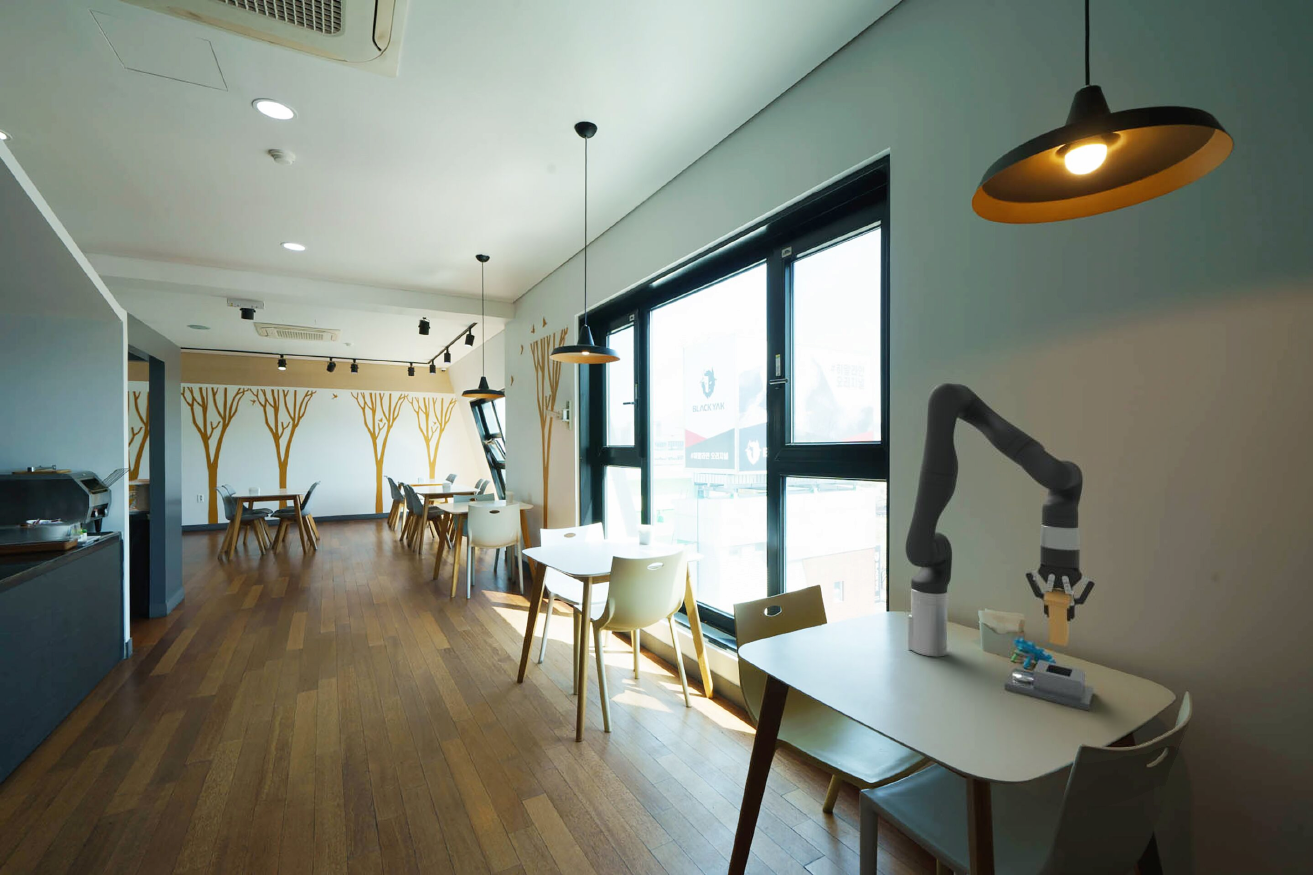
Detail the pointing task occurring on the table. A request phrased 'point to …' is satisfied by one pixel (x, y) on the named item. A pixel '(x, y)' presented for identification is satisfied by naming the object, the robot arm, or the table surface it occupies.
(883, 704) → the table surface
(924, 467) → the robot arm
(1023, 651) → the blue jagged figurine
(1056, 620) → the yellow t-shaped post
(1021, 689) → the gray slotted base block
